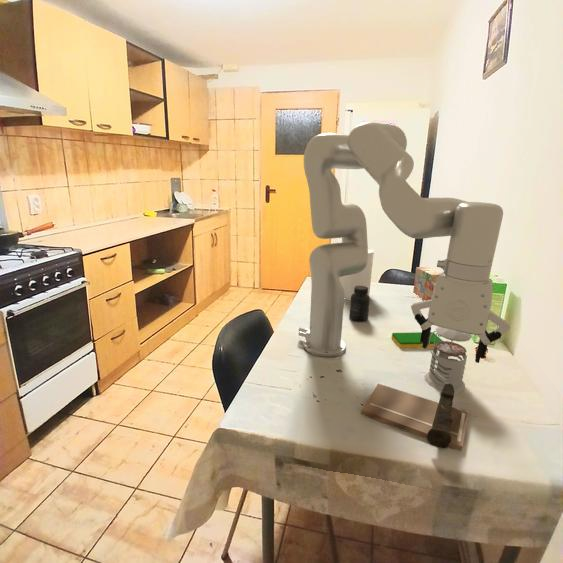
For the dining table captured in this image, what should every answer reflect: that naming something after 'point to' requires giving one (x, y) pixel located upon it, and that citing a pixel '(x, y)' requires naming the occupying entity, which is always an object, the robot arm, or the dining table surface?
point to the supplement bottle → (359, 304)
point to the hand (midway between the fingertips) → (450, 352)
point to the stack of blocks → (425, 282)
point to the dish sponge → (413, 340)
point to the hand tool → (442, 419)
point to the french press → (448, 360)
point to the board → (411, 413)
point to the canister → (358, 278)
